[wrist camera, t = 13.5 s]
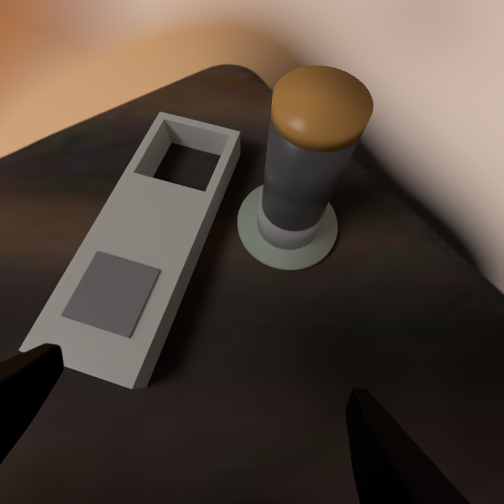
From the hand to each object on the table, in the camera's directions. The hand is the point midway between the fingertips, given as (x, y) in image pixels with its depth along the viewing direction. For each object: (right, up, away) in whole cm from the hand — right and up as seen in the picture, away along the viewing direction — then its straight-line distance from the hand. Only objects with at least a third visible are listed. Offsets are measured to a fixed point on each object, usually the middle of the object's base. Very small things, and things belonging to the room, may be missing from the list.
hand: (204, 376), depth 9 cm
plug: (+5, +6, +17) cm, 19 cm away
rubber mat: (+5, +6, +18) cm, 19 cm away
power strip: (-7, +5, +17) cm, 19 cm away
